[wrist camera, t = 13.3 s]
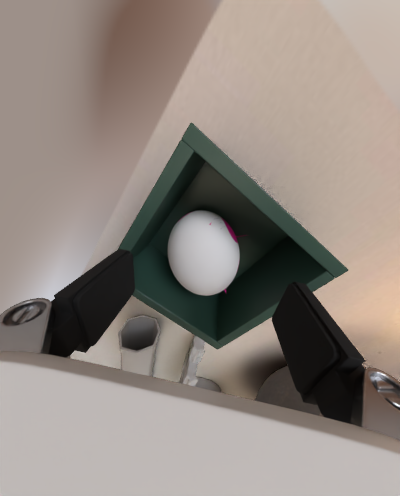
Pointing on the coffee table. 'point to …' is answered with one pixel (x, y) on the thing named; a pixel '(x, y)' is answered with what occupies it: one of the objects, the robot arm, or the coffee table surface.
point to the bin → (250, 246)
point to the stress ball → (203, 252)
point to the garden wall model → (192, 362)
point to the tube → (139, 344)
